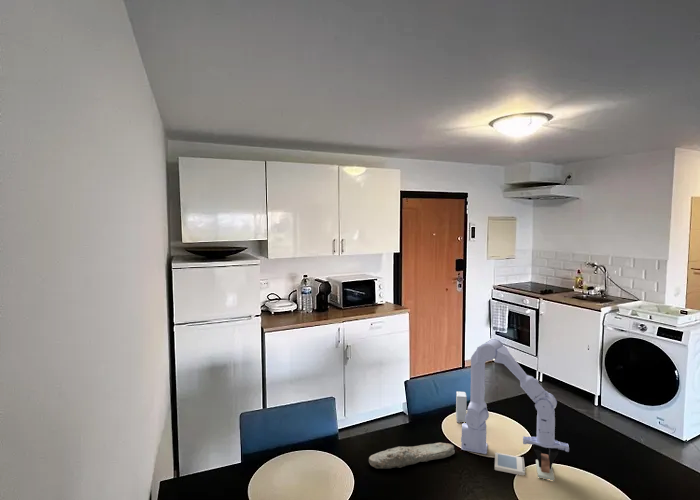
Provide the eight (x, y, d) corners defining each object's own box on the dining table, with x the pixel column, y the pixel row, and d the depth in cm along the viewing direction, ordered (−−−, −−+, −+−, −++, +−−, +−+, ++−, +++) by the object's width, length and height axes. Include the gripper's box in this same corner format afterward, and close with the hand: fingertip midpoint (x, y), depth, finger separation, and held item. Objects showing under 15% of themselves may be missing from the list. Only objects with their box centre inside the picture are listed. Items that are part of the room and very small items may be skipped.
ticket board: (494, 469, 142) (494, 466, 142) (495, 455, 151) (495, 451, 151) (525, 475, 138) (525, 472, 138) (523, 460, 147) (523, 457, 147)
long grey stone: (460, 462, 149) (446, 449, 159) (461, 448, 149) (447, 436, 159) (374, 474, 139) (364, 460, 148) (374, 458, 139) (365, 445, 148)
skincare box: (466, 423, 176) (466, 397, 176) (456, 422, 177) (456, 396, 177) (465, 417, 182) (465, 391, 182) (455, 416, 183) (456, 391, 183)
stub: (538, 478, 137) (538, 463, 136) (535, 462, 146) (536, 448, 146) (554, 481, 135) (554, 466, 135) (550, 465, 144) (551, 451, 144)
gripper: (567, 427, 141) (566, 464, 141) (522, 420, 146) (522, 456, 147) (570, 437, 134) (569, 475, 135) (523, 429, 139) (523, 466, 140)
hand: (544, 466), depth 140 cm, fingers closed on stub, 2 cm apart
